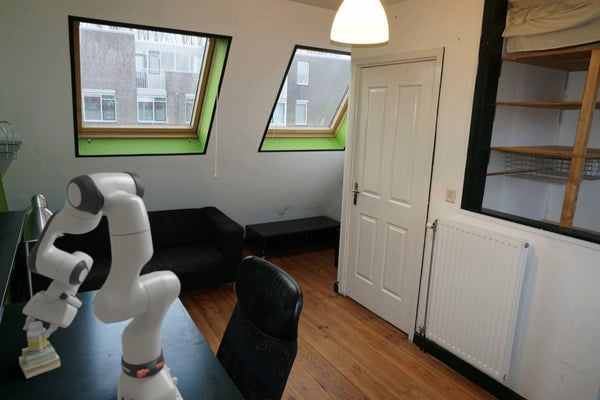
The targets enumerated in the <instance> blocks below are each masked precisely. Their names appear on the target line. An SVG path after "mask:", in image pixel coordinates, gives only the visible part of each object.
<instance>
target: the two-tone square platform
mask: <svg viewBox="0 0 600 400" xmlns="http://www.w3.org/2000/svg"><path fill="white" fill-rule="evenodd" d="M47 346H48V347H47V349H46V350H45V351H43V352H41V353H38V354H31V353H30V352H29V347H28V346H27V347H26V348H25V347H24V348H22V349H21V350H22V355H20V356H19V357H18V359H19V366H20V369H21V370H22V372H23V374H24V376H25V378H26V379H29V378H32V377H34V376H38V375H40V374H43V373H46V372H49V371H51V370H54V369H57V368H60V367H61V359H60V356H59V354H57V351H56V349H55V348H54V346H53V345H52V344H51V342H50V340H47Z"/></svg>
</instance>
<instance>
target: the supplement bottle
mask: <svg viewBox="0 0 600 400" xmlns="http://www.w3.org/2000/svg"><path fill="white" fill-rule="evenodd" d="M43 325H44V324H43V321H42V320H34V321H32V323H30V324H29V325H28V328H29V331H26V338H27V340H26V341H27V345H28V346H27V348H28V347H29V352H30V353H31V354H38V353H41V352H43V351H45V350H46V349H47V347H48V346H47V341H48V338H45V337H43V336H42V334H43V332H44V331H46V330H47V329H46V328H45V326H44V327H43Z"/></svg>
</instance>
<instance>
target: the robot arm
mask: <svg viewBox="0 0 600 400" xmlns="http://www.w3.org/2000/svg"><path fill="white" fill-rule="evenodd" d="M144 195H145V184H144V182H143V179H142V177H140V175H138V174H137V173H135V172H131V171H130V172H129V171H123V172H116V171H115V172H106V171H105V172H96V173H91V174H82V175H77V176H75V177H73V178H71V179H70V180H69V182H68V184H67V187H66V198H65V203H64V207H63V208H62V209H61V210H60V209H57V210H56V211H54V212H52V214H51V215H50V217H48V219H47V221H46V222H45V224H44V226H43V229H42V230H41V232H40V234H39V236H38V238H37V240H36V243H35V244H34V245H33V248H32V249H31V250H30V252H29V254H28V256H27V258H26V260H25V261H26V262H25V263H26V266H27V268H28V270H29V272H32V273H35V274H38V275H43V276H44V277H47V278H50V279H52V281H51V283H50V285H49V287H48V288H47V290H41V291H39V292H36V293H35V294H34V295H33V296H32V297H31V298H30V300H28V302H27V303H26V304H25V306H24V307H23V309H22V314H24V315H26V316H27V317H26V319H25V324H24V326H23V328H22V329H23V330H24V331H26V332H28V331H29V328H28V325H29V324H30V323H32V322H35V321H36V319H37V320H39V321H42V322H46V323H49V328H47V329H45V330H46V331H44V332H43V334H42V336H43V337H45V338H47V339H48V338H49V337H50V335H51V334H52V333H54V332H55V331H56V330H57V329H58V328H59V327H62V328H63V329H66V328H68V327H70V325H71V323H72V322H73V320H74V319H75V317H76V315H77V313H78V309H79V308H81V306H82V304H83V303H82V301H81V300H80V299H78V298H77V296H76V295H77V293H78V290H79V288H80V286H81V284H83V283H84V282H85V280H86V278H87V277H88V274H89V272H90V270H91V268H92V266H93V263H94V260H93V258H92V257H91V256H90V255H89V254H87V253H85V252H83V251H80V250H79V251H75V252H72V253H69V252H67V251H64V250H61V249H59V248H57V247H56V246H55V245H54V242H55V240H56V239H57V236H59V233H60V234H62V233H64V234H65V233H66V234H73V235H81V234H86V233H89V232H91V231H92V230H94V229H95V228H97V226H98V225H99V223H100V221H101V219H102V216H103V214H104V215H105V216H106V217H107V222H108V230H109V231H108V232H109V238H110V239H109V240H110V245H111V246H110V247H111V265H110V271H109V273H108V276H107V278H106V280H105V282H103V283H104V284H103V285H102V286H101V287H100V289H98V291H97V292H96V293H95V295H94V297H93V300H92V310H93V314H94V316H95V317H96V319H98V321H99V322H101V323H103V324H105V325H110V324H115V323H122V322H125V321H127V320H131V319H132V320H131V321H129V323H128V324H127V325H126V326H125V327H124V329H123V330H122V334H121V348H122V349H121V351H122V355H121V358H120V359H121V361H120V366H121V370H122V371H121V373H120V375H119V378H118V380H117V399H116V400H184V398H183V397H182V395H181V393H180V391H179V389H178V387H177V385H178V383H179V382H178V378H177V376H174V377H172V376H171V374H170V373H171V372H172V370H171V367H168V366H167V365H166V361H165V355H164V352H163V349H162V327H163V324H164V323H163V322H164V320H165V317H166V315H167V313H168V311H169V310H170V307H171V306H172V304H173V303H174V302H175V301H176V300H177V299H178V297H179V295H180V292H181V281H180V280H179V277H178V276H177V275H176V274H175V273H174V272H172V271H171V270H161V271H160V270H159V271H153V272H150V273H146V274H142V275H140V273H141V271H142V269H143V267H145V265H146V264H147V263H148V262H149V261H150V260H151V259H152V257H153V254H154V247H153V240H152V239H153V238H152V233H151V227H150V226H151V225H150V224H151V223H150V221H149V215H148V213H147V208H146V206H145V203H144V201H143V197H144Z"/></svg>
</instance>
